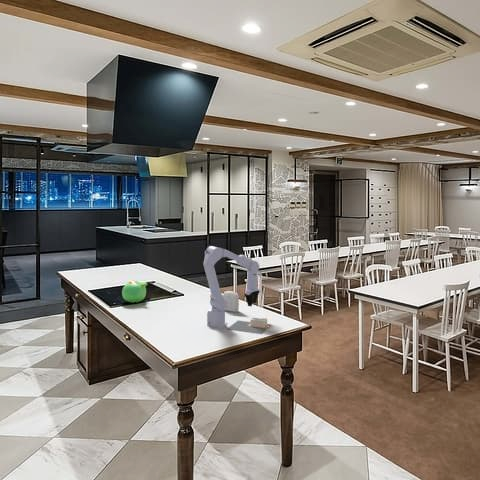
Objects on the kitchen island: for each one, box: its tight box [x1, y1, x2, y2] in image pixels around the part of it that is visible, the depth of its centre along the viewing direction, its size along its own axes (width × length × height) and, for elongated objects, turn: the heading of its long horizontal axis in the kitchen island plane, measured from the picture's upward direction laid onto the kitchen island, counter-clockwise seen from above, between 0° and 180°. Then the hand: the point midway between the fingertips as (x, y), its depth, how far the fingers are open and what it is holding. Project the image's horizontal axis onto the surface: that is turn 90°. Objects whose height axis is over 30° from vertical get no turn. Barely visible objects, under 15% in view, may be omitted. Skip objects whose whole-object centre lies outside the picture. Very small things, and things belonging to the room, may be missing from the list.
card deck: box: [250, 316, 268, 327], centre depth 220 cm, size 5×8×4 cm, turn 69°
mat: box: [226, 320, 272, 335], centre depth 218 cm, size 20×17×1 cm
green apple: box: [121, 280, 148, 304], centre depth 270 cm, size 18×17×15 cm
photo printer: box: [222, 290, 240, 313], centre depth 250 cm, size 10×4×12 cm, turn 61°
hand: (252, 304), depth 230 cm, fingers open, 7 cm apart
